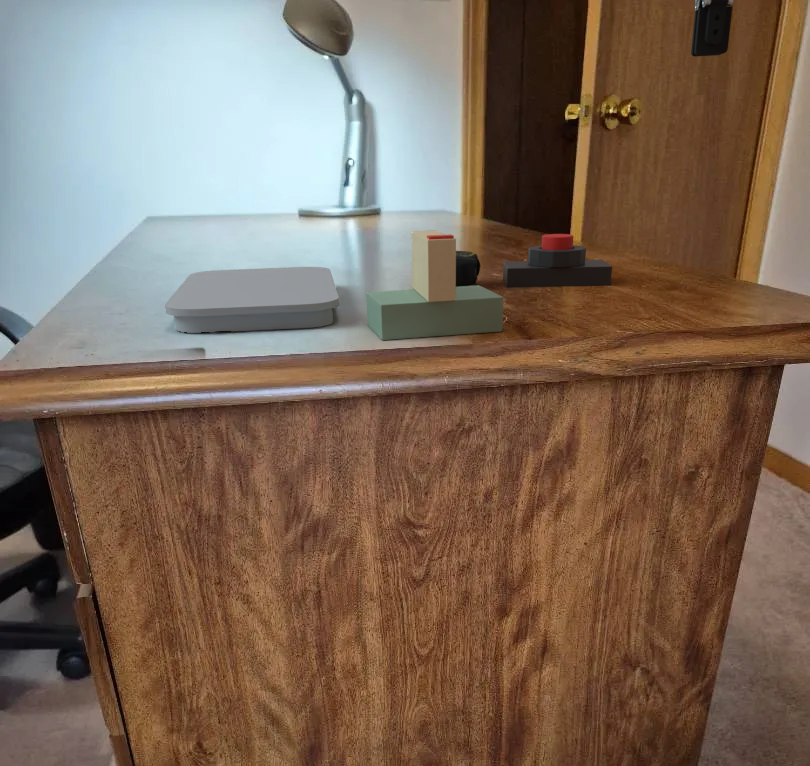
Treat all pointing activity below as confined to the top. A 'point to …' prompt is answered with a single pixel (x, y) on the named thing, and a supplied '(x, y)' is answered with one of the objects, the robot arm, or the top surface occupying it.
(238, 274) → the grey flat slab
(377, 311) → the green rectangular block
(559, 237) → the bell button
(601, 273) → the dark grey button housing
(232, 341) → the top surface
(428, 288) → the cream red-tipped block
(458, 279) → the tape measure
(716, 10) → the robot arm
